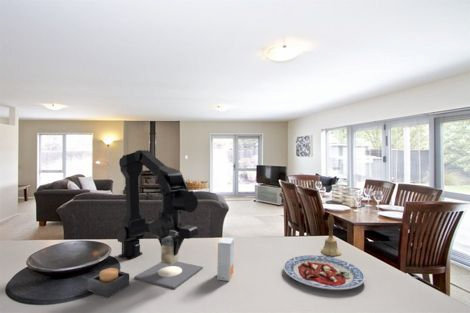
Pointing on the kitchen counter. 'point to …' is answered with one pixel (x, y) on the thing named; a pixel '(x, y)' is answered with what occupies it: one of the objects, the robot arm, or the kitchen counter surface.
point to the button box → (108, 285)
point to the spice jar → (168, 251)
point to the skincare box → (225, 259)
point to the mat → (169, 274)
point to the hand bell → (330, 240)
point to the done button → (108, 275)
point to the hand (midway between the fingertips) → (170, 254)
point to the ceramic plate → (324, 272)
